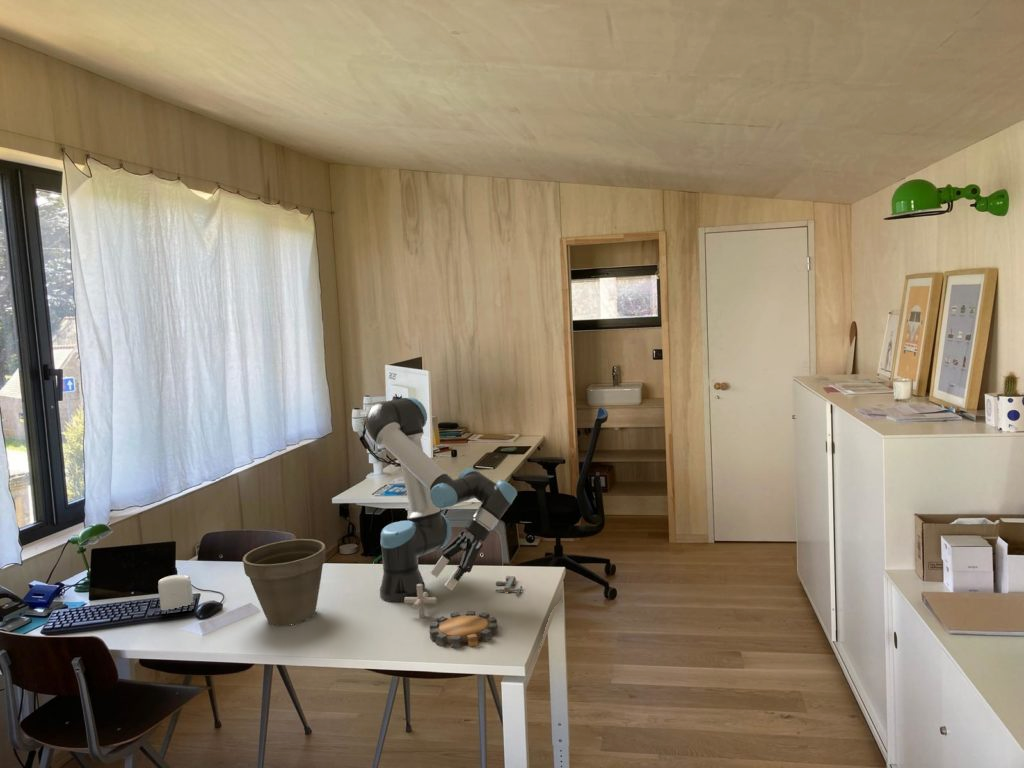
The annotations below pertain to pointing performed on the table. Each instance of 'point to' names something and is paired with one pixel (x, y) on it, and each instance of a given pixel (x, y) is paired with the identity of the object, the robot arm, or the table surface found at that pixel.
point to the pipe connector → (420, 600)
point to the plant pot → (286, 578)
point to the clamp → (509, 581)
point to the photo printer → (175, 592)
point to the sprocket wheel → (463, 629)
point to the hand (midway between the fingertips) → (440, 581)
